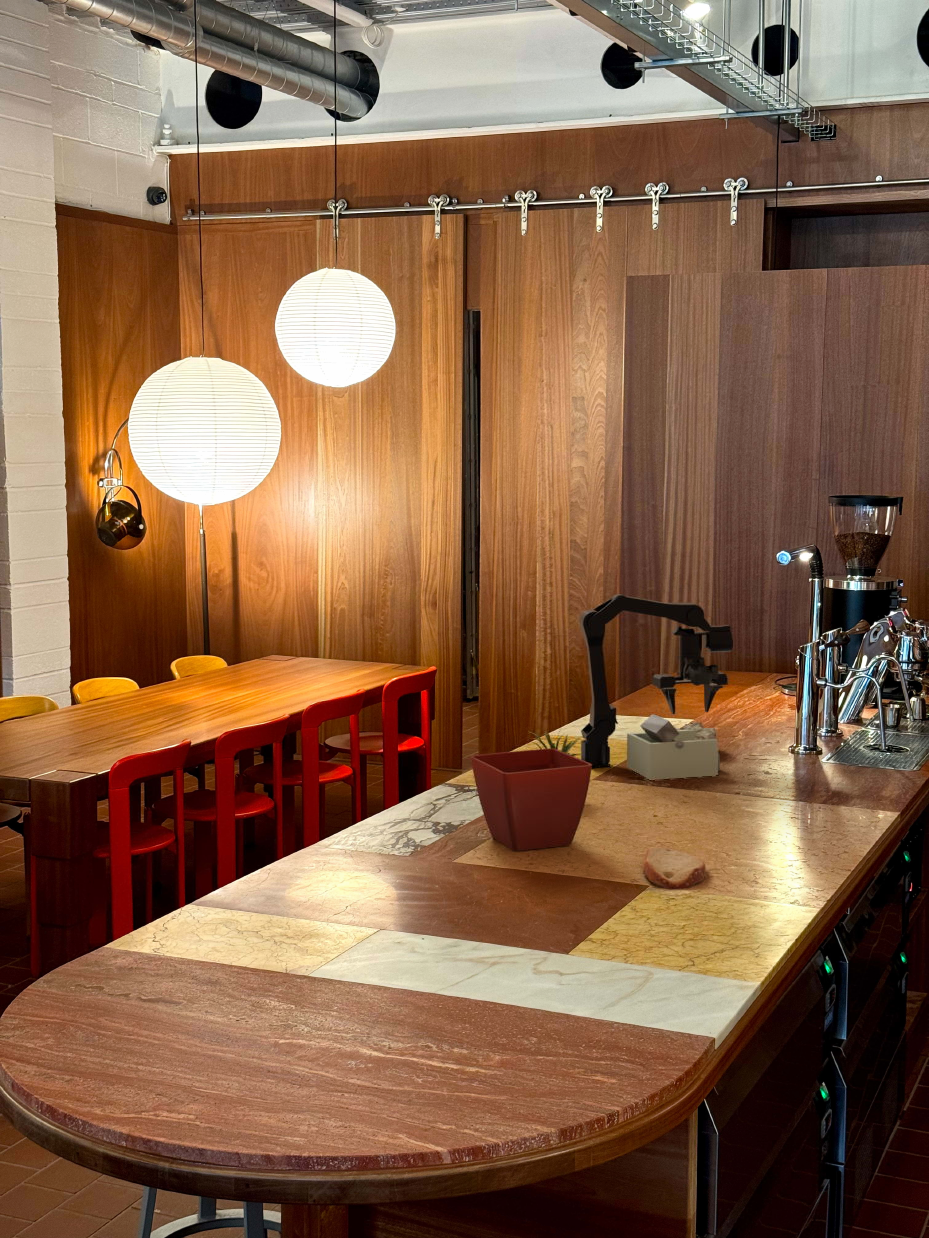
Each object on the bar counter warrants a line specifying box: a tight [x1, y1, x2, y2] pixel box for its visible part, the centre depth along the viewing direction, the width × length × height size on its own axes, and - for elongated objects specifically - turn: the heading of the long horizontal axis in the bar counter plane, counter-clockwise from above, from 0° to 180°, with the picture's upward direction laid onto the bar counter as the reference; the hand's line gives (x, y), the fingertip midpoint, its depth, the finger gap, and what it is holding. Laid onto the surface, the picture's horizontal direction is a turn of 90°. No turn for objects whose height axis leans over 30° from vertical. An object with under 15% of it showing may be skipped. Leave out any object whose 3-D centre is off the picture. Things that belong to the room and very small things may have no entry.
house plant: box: [529, 728, 585, 757], centre depth 310 cm, size 14×14×16 cm
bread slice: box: [642, 845, 707, 890], centre depth 252 cm, size 18×18×4 cm
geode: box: [674, 721, 717, 740], centre depth 358 cm, size 17×9×15 cm
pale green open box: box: [626, 729, 719, 781], centre depth 335 cm, size 18×16×9 cm
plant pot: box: [470, 747, 593, 852], centre depth 273 cm, size 19×19×17 cm
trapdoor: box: [639, 713, 679, 743], centre depth 335 cm, size 16×12×4 cm
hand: (690, 713), depth 345 cm, fingers open, 9 cm apart
